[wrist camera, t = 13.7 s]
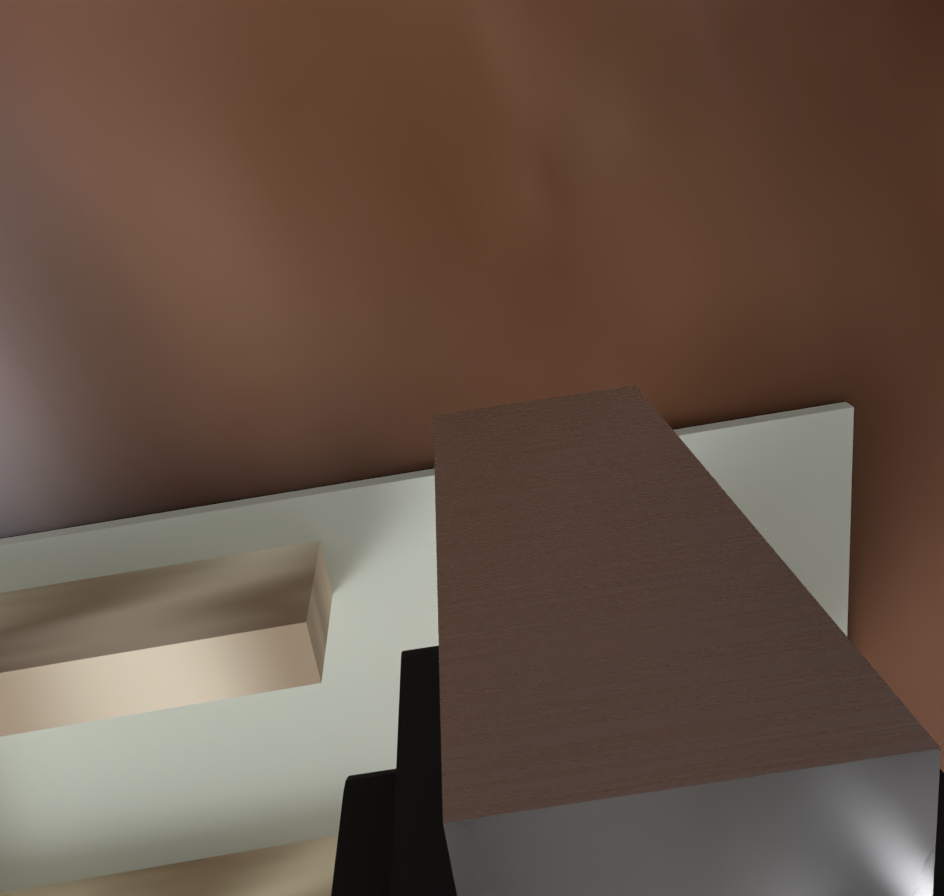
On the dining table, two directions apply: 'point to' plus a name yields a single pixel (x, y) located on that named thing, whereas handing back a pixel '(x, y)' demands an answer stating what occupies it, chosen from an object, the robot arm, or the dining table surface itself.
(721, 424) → the mat
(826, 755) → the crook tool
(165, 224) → the dining table surface
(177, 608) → the frame
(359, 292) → the dining table surface
